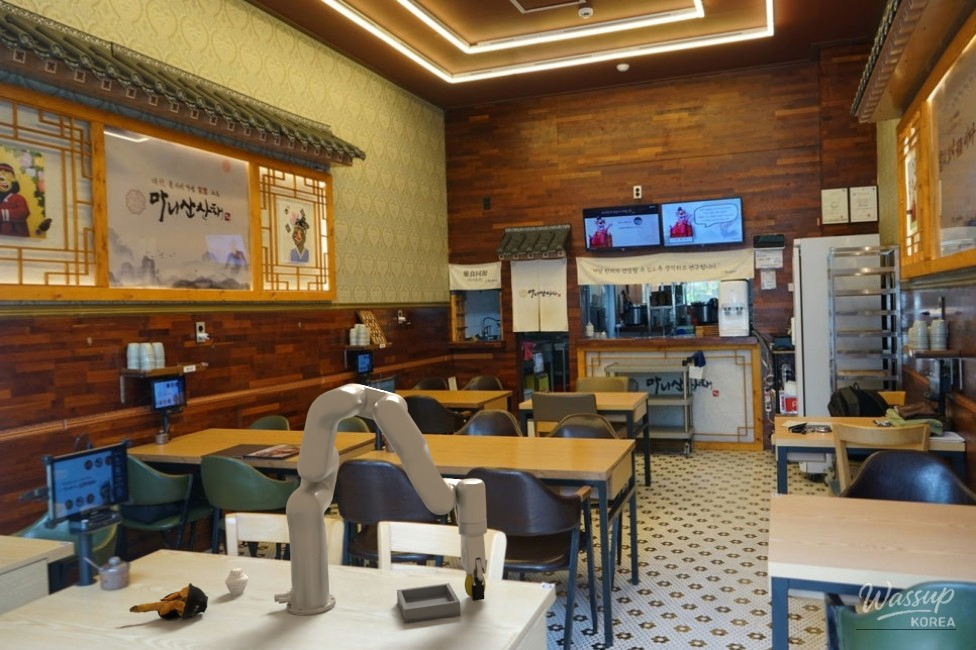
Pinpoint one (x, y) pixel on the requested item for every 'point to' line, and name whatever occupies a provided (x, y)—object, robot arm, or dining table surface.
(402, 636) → the dining table surface
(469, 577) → the lemon
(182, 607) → the fried shrimp in bowl
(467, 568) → the robot arm
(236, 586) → the white vase
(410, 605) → the tray
